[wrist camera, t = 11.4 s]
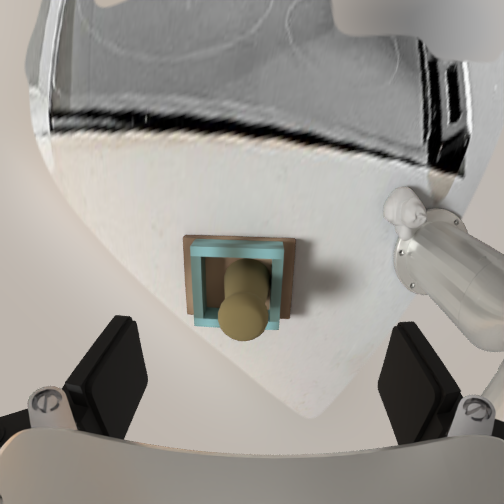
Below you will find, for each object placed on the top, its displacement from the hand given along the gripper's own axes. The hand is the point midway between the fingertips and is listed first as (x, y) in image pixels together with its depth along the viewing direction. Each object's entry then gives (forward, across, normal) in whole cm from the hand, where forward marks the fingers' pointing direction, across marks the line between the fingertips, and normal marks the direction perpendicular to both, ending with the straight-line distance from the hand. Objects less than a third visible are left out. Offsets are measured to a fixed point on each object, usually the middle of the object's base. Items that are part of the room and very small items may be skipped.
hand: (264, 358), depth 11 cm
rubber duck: (+30, -17, 0) cm, 35 cm away
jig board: (+30, +3, +10) cm, 32 cm away
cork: (+29, +2, +10) cm, 31 cm away
